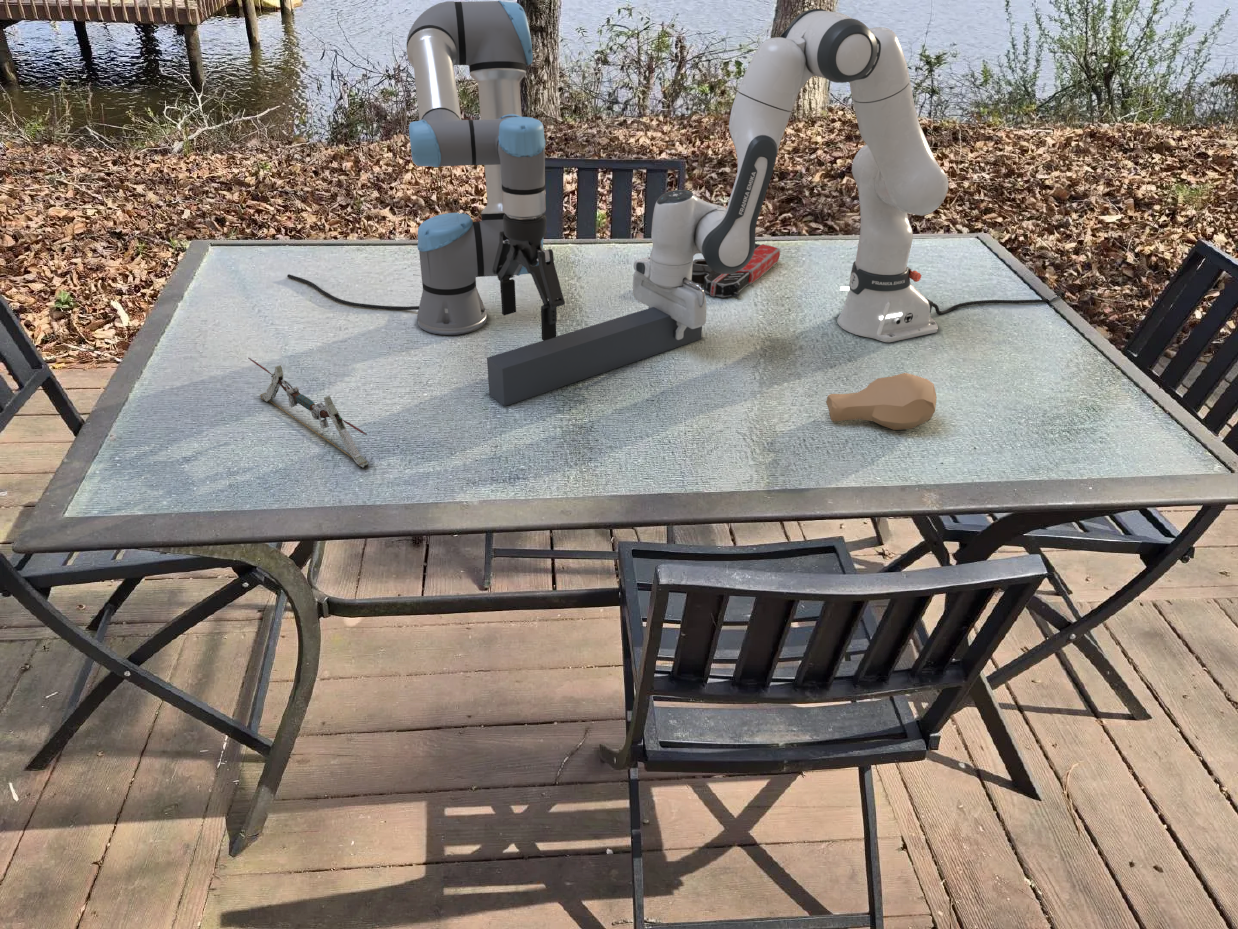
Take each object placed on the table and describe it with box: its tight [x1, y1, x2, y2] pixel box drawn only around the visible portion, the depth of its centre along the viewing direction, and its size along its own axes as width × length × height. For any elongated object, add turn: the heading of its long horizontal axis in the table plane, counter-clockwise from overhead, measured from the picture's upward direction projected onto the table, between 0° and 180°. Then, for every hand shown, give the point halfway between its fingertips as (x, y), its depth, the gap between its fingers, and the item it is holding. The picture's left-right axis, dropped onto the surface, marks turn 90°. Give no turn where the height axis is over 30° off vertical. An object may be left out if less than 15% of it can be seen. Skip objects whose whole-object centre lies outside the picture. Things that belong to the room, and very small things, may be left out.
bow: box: [247, 356, 370, 468], centre depth 154 cm, size 39×2×10 cm, turn 47°
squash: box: [825, 372, 938, 431], centre depth 163 cm, size 11×20×9 cm, turn 90°
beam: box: [486, 307, 703, 407], centre depth 179 cm, size 51×6×8 cm, turn 128°
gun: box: [691, 243, 781, 299], centre depth 224 cm, size 4×31×19 cm
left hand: (528, 325), depth 164 cm, fingers open, 13 cm apart
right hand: (667, 332), depth 189 cm, fingers closed on beam, 6 cm apart
